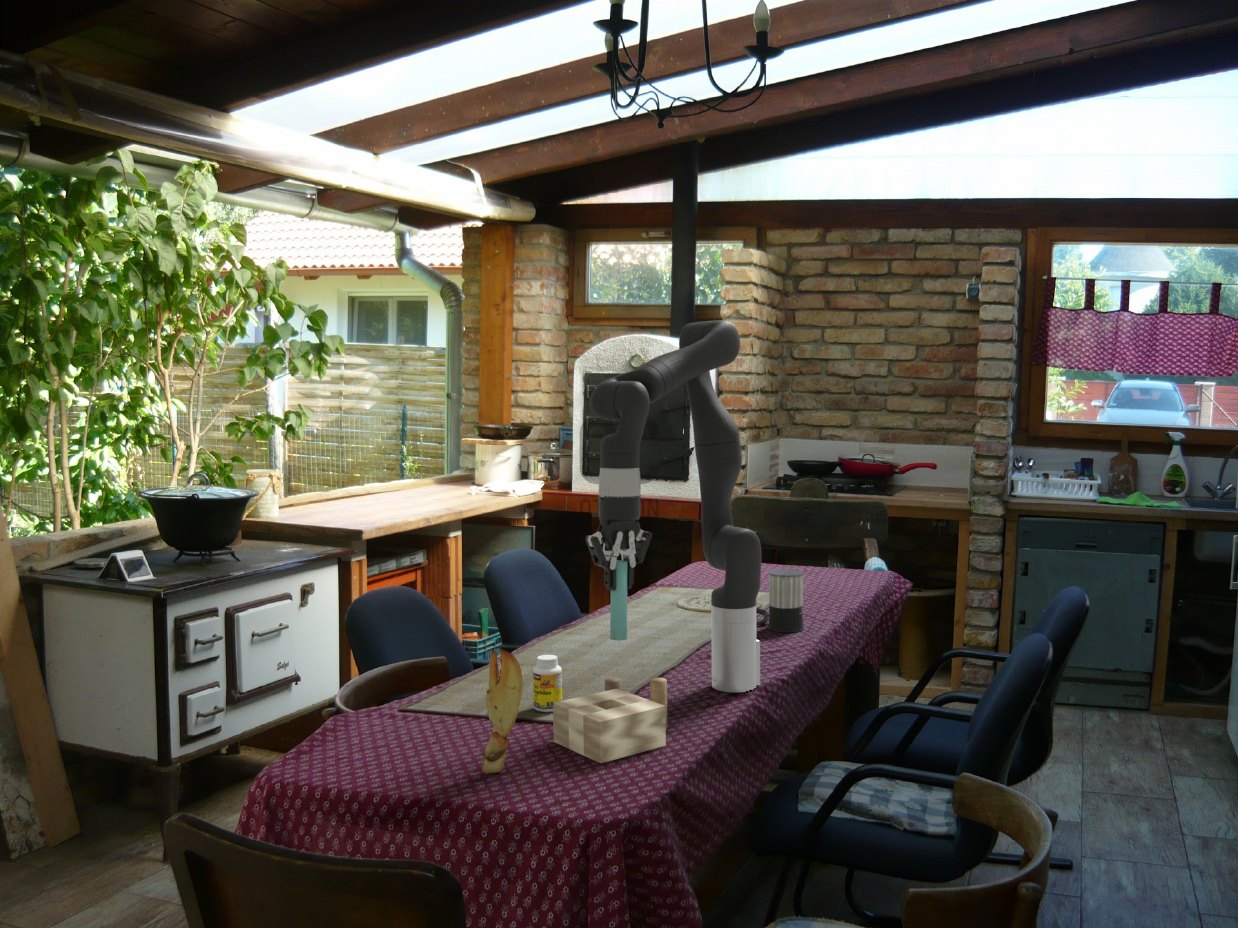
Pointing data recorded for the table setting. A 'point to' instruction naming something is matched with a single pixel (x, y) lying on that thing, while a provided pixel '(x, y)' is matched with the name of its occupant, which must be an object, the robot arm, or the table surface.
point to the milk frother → (784, 601)
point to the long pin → (619, 603)
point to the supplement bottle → (547, 683)
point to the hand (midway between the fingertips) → (618, 588)
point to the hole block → (609, 725)
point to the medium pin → (659, 692)
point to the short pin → (612, 684)
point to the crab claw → (501, 707)
